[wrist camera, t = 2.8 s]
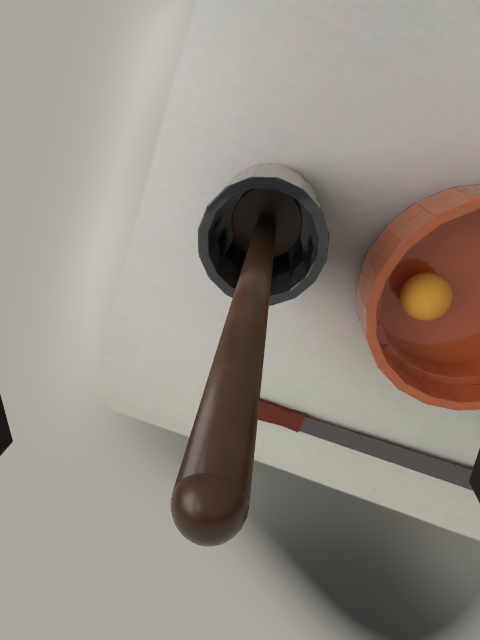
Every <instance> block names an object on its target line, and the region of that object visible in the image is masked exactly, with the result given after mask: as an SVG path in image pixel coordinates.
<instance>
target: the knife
mask: <svg viewBox="0 0 480 640" xmlns="http://www.w3.org/2000/svg"><path fill="white" fill-rule="evenodd" d="M258 419H259V420H262V421H265V422H269V423H273V424H277V425H281V426H284V427H286V428H289V429H291V430H294V431H296V432H299V431H301V432H304V433H307V434H310V435H313V436H316V437H319V438H322V439H324V440H327V441H330V442H333V443H336V444H339V445H342V446H345V447H348V448H351V449H354V450H357V451H359V452H362V453H365V454H368V455H371V456H374V457H377V458H380V459H383V460H386V461H389V462H392V463H395V464H397V465H400V466H403V467H406V468H409V469H412V470H415V471H418V472H421V473H424V474H427V475H430V476H432V477H435V478H438V479H441V480H444V481H447V482H450V483H453V484H456V485H459V486H462V487H465V488H467V489H470V490H473V489H472V487H471V485H470V483H469V479H470V476H471V473H472V470H473V469H470V468H467V467H464V466H460V465H457V464H454V463H451V462H448V461H445V460H441V459H438V458H435V457H432V456H429V455H426V454H423V453H419V452H416V451H413V450H410V449H407V448H404V447H401V446H397V445H394V444H391V443H388V442H385V441H382V440H378V439H375V438H372V437H369V436H366V435H363V434H360V433H356V432H353V431H350V430H347V429H344V428H341V427H337V426H334V425H331V424H328V423H325V422H322V421H319V420H315V419H312V418H309V417H306V413H302V412H298V411H294V410H290V409H287V408H284V407H282V406H279V405H277V404H274V403H271V402H269V401H265V400H262V399H260V400H259V410H258Z"/></svg>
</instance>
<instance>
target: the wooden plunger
mask: <svg viewBox="0 0 480 640" xmlns="http://www.w3.org/2000/svg"><path fill="white" fill-rule="evenodd" d="M231 224H232V231H233V234H234V237H235V239H236V241H237V242H238V244H239V245H240V246H241V247H242V248H243V249H244V250H245V251H247V254H246V257H245V261H244V264H243V267H242V270H241V273H240V277H239V280H238V283H237V286H236V290H235V293H234V296H233V299H232V302H231V306H230V309H229V312H228V315H227V319H226V322H225V325H224V328H223V332H222V335H221V338H220V341H219V344H218V348H217V351H216V354H215V357H214V361H213V364H212V367H211V370H210V373H209V377H208V380H207V383H206V386H205V390H204V393H203V396H202V399H201V402H200V406H199V409H198V412H197V415H196V419H195V422H194V425H193V428H192V431H191V435H190V438H189V441H188V444H187V448H186V451H185V454H184V457H183V460H182V464H181V467H180V470H179V474H178V477H177V480H176V483H175V486H174V489H173V494H172V498H171V512H172V517H173V520H174V523H175V525H176V527H177V528H178V530H179V531H180V532H181V534H182V535H183V536H184V537H185V538H187V539H188V540H190V541H191V542H193V543H195V544H197V545H201V546H217V545H221V544H223V543H225V542H227V541H229V540H230V539H232V538H233V537H234V536H235V535H236V534H237V533H238V532H239V531H240V529H241V528H242V526H243V524H244V522H245V520H246V518H247V514H248V510H249V501H250V491H251V481H252V471H253V461H254V451H255V440H256V430H257V420H258V410H259V400H260V390H261V379H262V369H263V359H264V349H265V339H266V329H267V318H268V308H269V298H270V288H271V278H272V268H273V257H276V256H279V255H282V254H284V253H285V252H287V251H288V250H290V249H291V248H292V247H293V246H294V244H295V243H296V242H297V240H298V238H299V236H300V234H301V230H302V213H301V208H300V205H299V202H298V200H297V199H295V198H293V197H291V196H289V195H287V194H285V193H283V192H281V191H278V190H276V189H251V190H248V191H246V192H245V193H244V194H243V195H242V196H241V198H240V199H239V201H238V202H237V204H236V206H235V208H234V211H233V214H232V221H231Z"/></svg>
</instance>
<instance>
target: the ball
mask: <svg viewBox="0 0 480 640" xmlns="http://www.w3.org/2000/svg"><path fill="white" fill-rule="evenodd" d="M452 299H453V294H452V289H451V287H450V285H449V283H448V282H447V281H446V280H445V279H444V278H443V277H441V276H440V275H437V274H435V273H429V272H425V273H419V274H416V275H414V276H412V277H411V278H409V279H408V280H407V281H406V282H405V283H404V285H403V287H402V289H401V292H400V302H401V305H402V307H403V309H404V310H405V312H406V313H407V314H408V315H410V316H411V317H413V318H415V319H418V320H423V321H428V320H434V319H437V318H439V317H441V316H442V315H443V314H445V313H446V312H447V310H448V309H449V307H450V305H451V303H452Z"/></svg>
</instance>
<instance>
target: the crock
mask: <svg viewBox="0 0 480 640" xmlns="http://www.w3.org/2000/svg"><path fill="white" fill-rule="evenodd" d="M251 189H276V190H278V191H281V192H283V193H285V194H287V195H289V196H291V197H293V198H295V199H297V200H298V202H299V205H300V208H301V213H302V230H301V234H300V236H299V238H298V240H297V242H296V243H295V244H294V246H293V247H292V248H291V249H290V250H288V251H287V252H285V253H284V254H282V255H279V256H276V257H273V268H272V278H271V288H270V298H269V305H275V304H278V303H281V302H284V301H287V300H291V299H294V298H296V297H297V296H298V295H300V294H301V293H302V292H303V291H305V290H306V289H307V288H308V287H309V286H311V285H312V284H313V283H314V282H315V281H316V279H317V277H318V275H319V274H320V272H321V270H322V268H323V266H324V264H325V263H326V260H327V252H328V243H329V232H328V229H327V225H326V222H325V219H324V216H323V213H322V210H321V207H320V205H319V202H318V200H317V198H316V195H315V193H314V190H313V189H312V188H311V186H310V185H309V184H308V182H307V181H306V180H305V179H304V178H303V177H302V176H301V175H300V174H299V173H297V172H296V171H294V170H293V169H291V168H289V167H286V166H283V165H279V164H271V163H269V164H260V165H256V166H253V167H250V168H248V169H246V170H244V171H242V172H240V173H239V174H238V175H237V176H236V177H235V178H234V179H233V180H232V181H231V182H230V183H229V184H228V185H227V186H226V187H225V188H224V189H223V190H222V191H221V192H220V193H219V194H218V195H217V196H216V197H215V198H214V199H213V200H212V201H211V202H210V203H209V204H208V206H207V207H206V210H205V213H204V215H203V218H202V220H201V223H200V225H199V228H198V253H199V257H200V259H201V261H202V264H203V266H204V268H205V270H206V273H207V275H208V277H209V278H210V279H211V280H212V281H213V282H214V283H215V284H216V285H217V286H218V287H219V288H220V289H221V290H222V291H223V292H224V293H225V294H226V295H228V296H230V297H232V298H233V296H234V293H235V290H236V286H237V283H238V280H239V277H240V273H241V270H242V267H243V264H244V261H245V257H246V254H247V251H245V250H244V249H243V248H242V247H241V246H240V245H239V244H238V242H237V241H236V239H235V237H234V234H233V231H232V224H231V221H232V214H233V211H234V208H235V206H236V204H237V202H238V201H239V199H240V198H241V196H242V195H243V194H244V193H245V192H246V191H248V190H251Z"/></svg>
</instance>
